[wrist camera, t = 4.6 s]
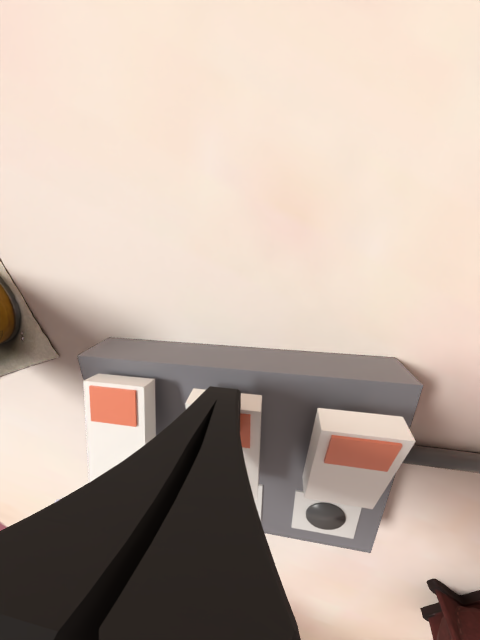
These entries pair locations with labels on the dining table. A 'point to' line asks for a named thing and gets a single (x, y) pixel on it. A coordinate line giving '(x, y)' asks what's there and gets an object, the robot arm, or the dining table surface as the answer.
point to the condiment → (19, 331)
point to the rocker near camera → (354, 456)
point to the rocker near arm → (117, 419)
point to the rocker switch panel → (283, 418)
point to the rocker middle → (246, 433)
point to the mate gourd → (453, 614)
